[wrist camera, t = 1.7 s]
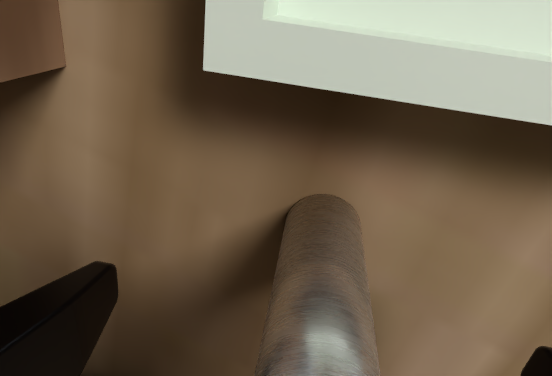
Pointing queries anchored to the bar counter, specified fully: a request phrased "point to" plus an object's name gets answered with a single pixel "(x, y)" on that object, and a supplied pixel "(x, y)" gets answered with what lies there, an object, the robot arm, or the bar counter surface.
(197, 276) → the bar counter surface
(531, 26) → the tray
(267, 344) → the cylinder
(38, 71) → the walnut block
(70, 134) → the bar counter surface
